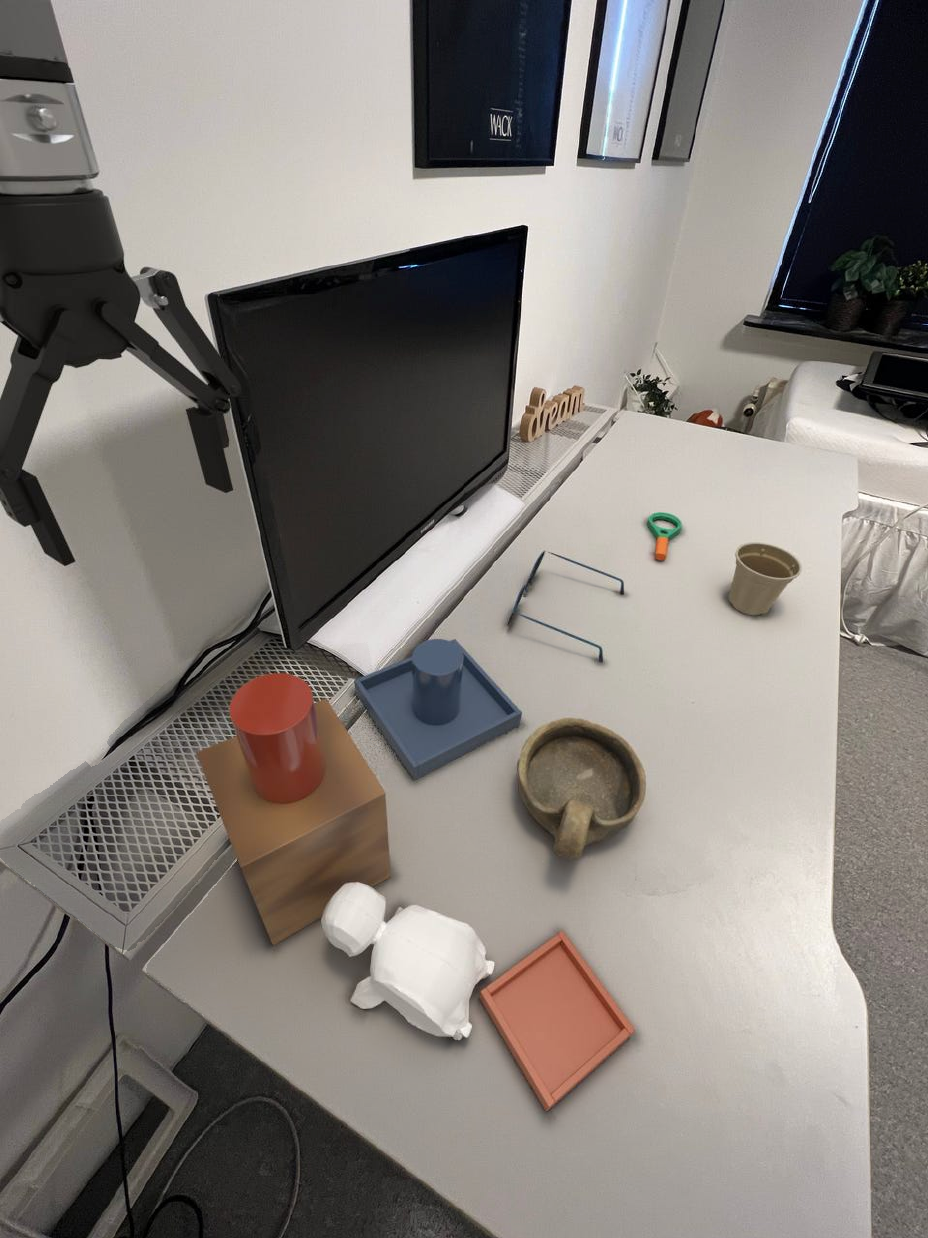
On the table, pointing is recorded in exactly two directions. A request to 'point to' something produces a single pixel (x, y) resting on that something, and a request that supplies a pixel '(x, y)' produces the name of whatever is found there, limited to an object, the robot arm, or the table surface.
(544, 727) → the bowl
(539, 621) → the sunglasses
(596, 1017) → the red tray
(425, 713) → the slate blue cylinder
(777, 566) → the flower pot
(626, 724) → the table surface
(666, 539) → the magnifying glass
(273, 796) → the red cylinder
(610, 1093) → the table surface
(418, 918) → the white turtle figurine
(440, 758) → the blue tray
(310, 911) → the brown wooden block
